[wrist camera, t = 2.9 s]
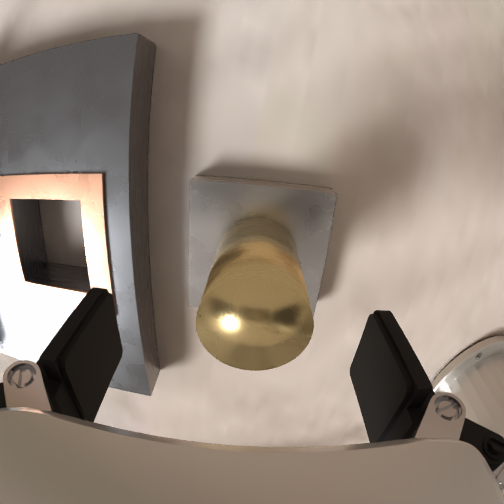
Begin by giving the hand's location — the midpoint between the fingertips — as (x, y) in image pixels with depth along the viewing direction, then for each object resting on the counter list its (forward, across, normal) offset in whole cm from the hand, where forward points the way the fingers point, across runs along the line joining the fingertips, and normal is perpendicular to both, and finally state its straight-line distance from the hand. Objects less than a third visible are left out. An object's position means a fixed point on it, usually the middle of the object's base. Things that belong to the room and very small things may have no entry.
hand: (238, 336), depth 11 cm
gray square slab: (+9, -1, 0) cm, 9 cm away
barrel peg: (+8, -1, 0) cm, 8 cm away
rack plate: (+10, +15, 0) cm, 18 cm away
